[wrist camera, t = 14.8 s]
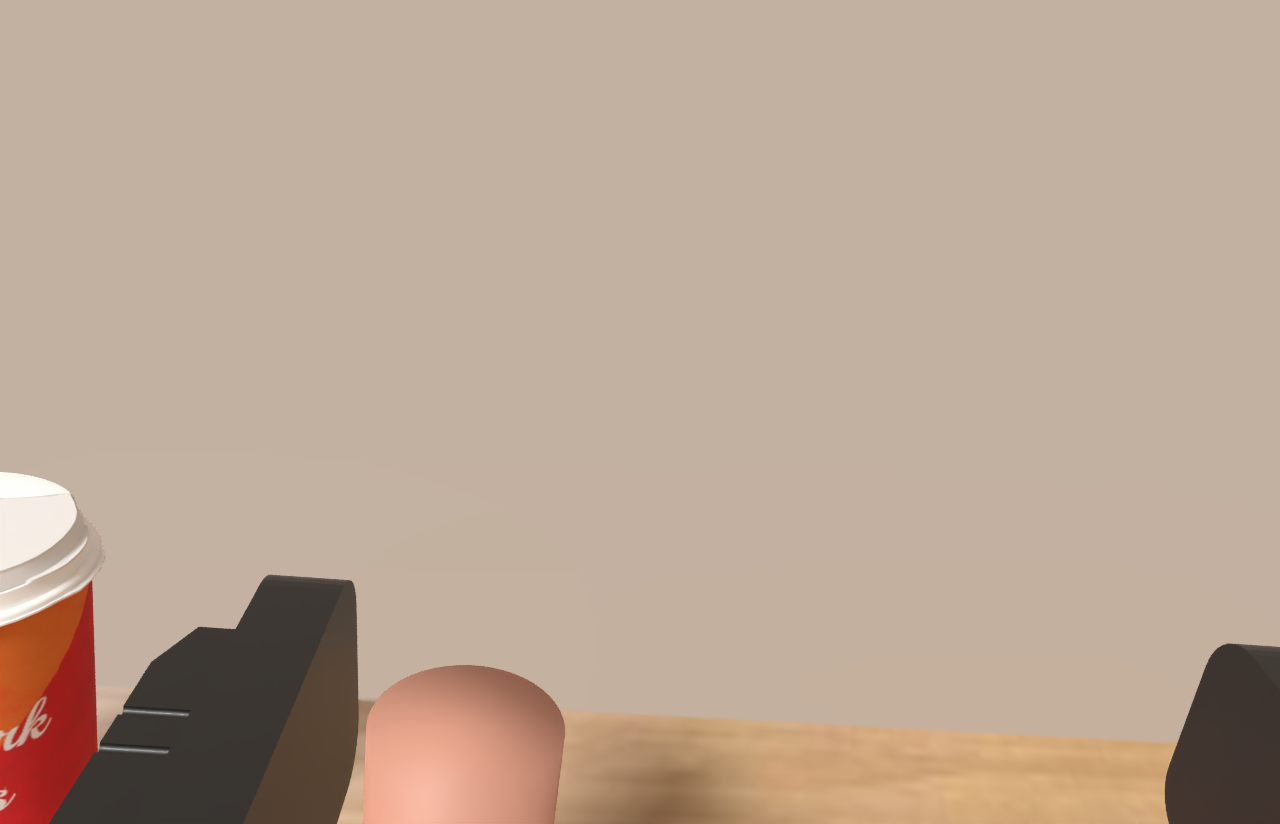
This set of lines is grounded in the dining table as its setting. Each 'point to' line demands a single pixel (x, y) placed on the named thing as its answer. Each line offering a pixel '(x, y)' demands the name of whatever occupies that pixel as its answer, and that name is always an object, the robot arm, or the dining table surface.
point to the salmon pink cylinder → (463, 750)
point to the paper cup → (44, 646)
